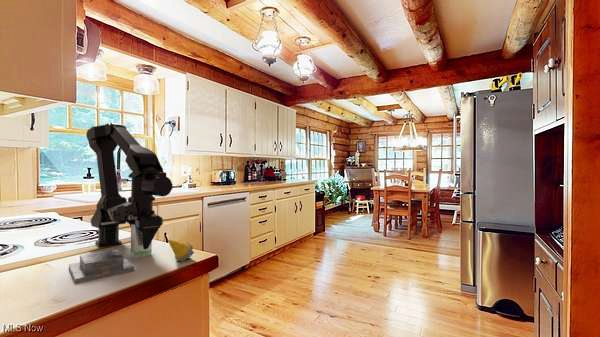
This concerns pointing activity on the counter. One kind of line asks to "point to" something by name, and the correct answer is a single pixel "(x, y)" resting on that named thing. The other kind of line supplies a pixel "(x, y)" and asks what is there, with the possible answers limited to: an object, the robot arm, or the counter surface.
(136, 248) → the column
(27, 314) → the counter surface
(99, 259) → the stand
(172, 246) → the yellow-green tapered piece
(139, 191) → the robot arm
